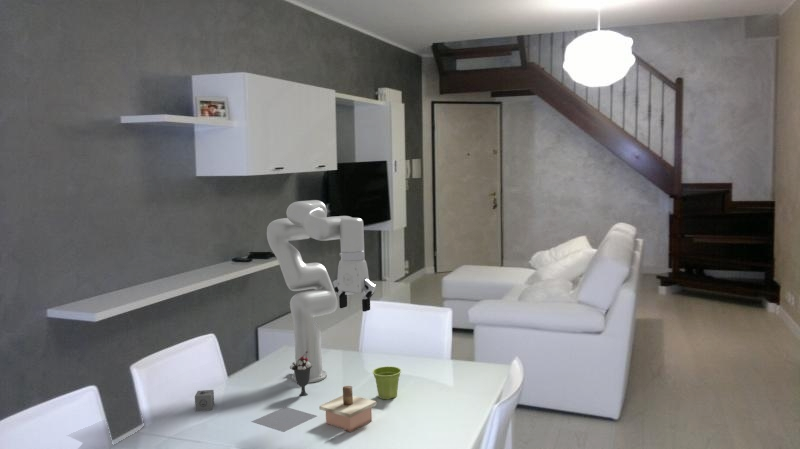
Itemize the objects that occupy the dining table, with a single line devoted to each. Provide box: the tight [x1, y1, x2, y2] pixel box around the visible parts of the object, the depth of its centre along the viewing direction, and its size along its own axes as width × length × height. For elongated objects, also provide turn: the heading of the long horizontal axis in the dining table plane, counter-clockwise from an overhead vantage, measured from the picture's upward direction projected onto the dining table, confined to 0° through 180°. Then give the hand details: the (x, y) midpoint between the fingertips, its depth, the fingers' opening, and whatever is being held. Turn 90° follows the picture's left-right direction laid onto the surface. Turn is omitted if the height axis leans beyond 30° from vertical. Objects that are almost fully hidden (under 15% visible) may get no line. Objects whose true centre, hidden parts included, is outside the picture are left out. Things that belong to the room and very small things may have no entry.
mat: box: [251, 406, 318, 433], centre depth 198 cm, size 14×14×1 cm
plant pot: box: [372, 365, 402, 400], centre depth 216 cm, size 9×9×9 cm
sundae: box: [291, 352, 312, 397], centre depth 218 cm, size 7×7×15 cm
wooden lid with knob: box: [318, 385, 377, 418], centre depth 194 cm, size 12×12×6 cm
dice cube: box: [194, 389, 215, 412], centre depth 211 cm, size 5×5×5 cm
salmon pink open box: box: [325, 407, 373, 433], centre depth 194 cm, size 10×10×5 cm
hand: (354, 309), depth 211 cm, fingers open, 9 cm apart
